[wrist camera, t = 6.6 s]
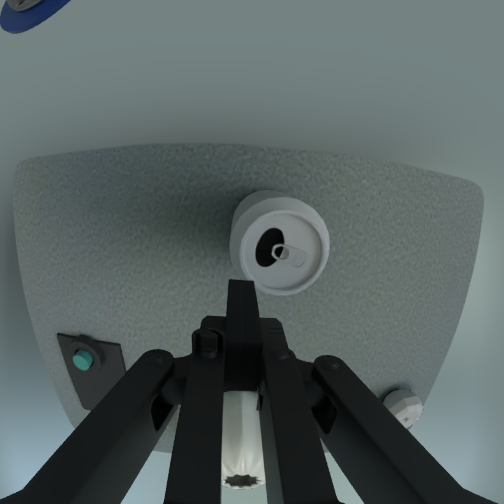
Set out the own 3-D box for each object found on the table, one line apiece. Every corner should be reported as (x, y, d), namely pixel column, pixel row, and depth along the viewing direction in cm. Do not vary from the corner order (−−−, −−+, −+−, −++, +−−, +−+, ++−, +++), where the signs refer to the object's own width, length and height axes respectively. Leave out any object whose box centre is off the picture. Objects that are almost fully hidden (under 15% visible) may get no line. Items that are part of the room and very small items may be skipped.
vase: (278, 434, 40) (288, 498, 27) (195, 432, 39) (188, 497, 26) (290, 377, 36) (309, 452, 23) (190, 374, 35) (176, 451, 23)
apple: (409, 401, 41) (424, 424, 34) (372, 418, 41) (384, 443, 34) (413, 373, 38) (431, 397, 32) (372, 391, 39) (387, 418, 32)
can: (246, 178, 29) (252, 182, 17) (311, 204, 30) (353, 223, 18) (222, 244, 31) (213, 286, 19) (285, 266, 32) (310, 317, 20)
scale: (56, 328, 33) (50, 335, 31) (119, 339, 34) (113, 348, 31) (84, 406, 37) (80, 414, 35) (139, 418, 38) (136, 427, 36)
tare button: (75, 347, 32) (70, 353, 30) (90, 350, 32) (85, 357, 30) (79, 362, 32) (75, 368, 31) (94, 365, 33) (90, 371, 31)
